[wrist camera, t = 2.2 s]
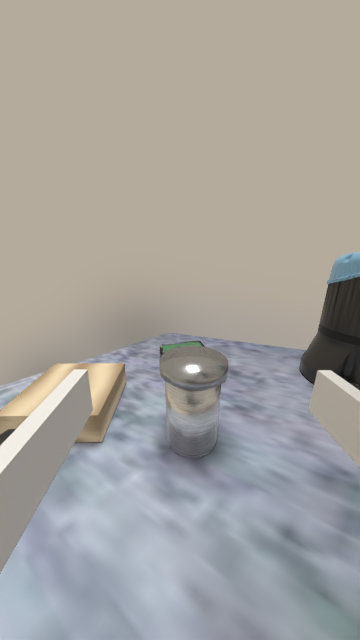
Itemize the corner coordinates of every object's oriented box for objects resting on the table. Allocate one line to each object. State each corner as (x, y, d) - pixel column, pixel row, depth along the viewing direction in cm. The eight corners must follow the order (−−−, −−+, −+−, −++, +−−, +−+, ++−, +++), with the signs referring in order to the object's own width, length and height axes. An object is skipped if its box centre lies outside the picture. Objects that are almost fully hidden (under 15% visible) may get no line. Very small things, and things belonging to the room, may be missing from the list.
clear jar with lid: (215, 412, 29) (220, 345, 26) (228, 463, 22) (237, 379, 18) (163, 412, 29) (162, 345, 26) (158, 464, 21) (156, 379, 18)
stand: (126, 383, 35) (124, 363, 34) (101, 442, 24) (98, 415, 23) (59, 383, 35) (55, 363, 34) (2, 443, 24) (-7, 416, 23)
